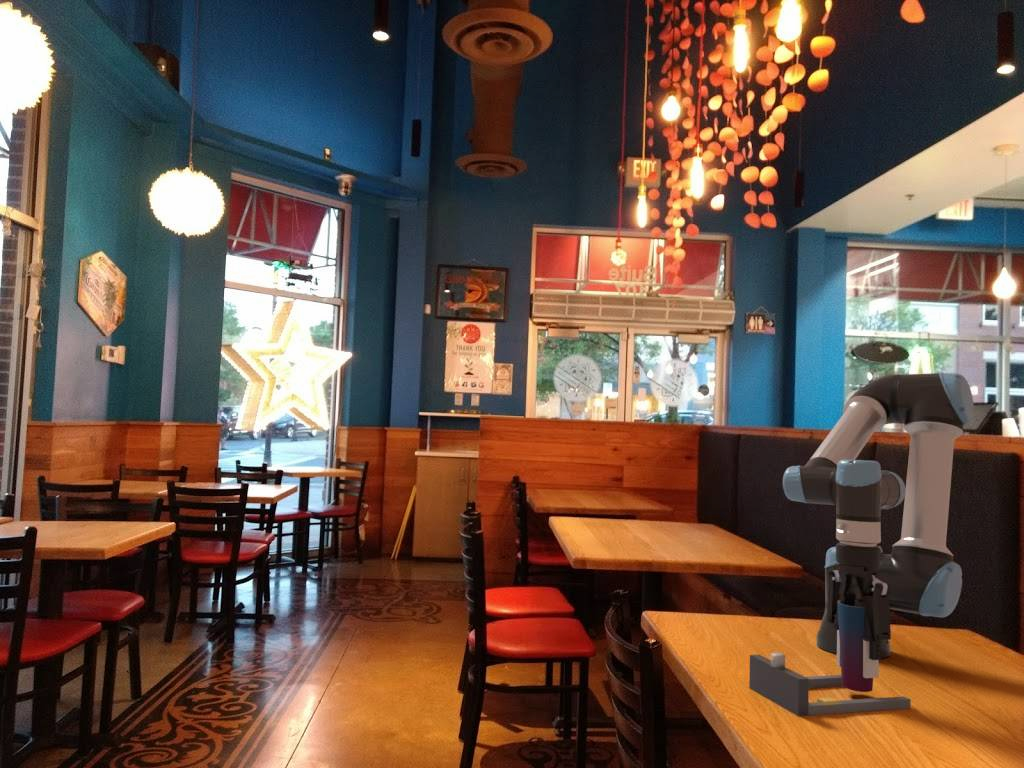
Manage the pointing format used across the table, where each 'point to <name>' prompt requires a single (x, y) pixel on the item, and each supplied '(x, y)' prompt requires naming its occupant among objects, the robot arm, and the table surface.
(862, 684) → the cup
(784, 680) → the grey u-shaped fork
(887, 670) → the table surface
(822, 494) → the robot arm
